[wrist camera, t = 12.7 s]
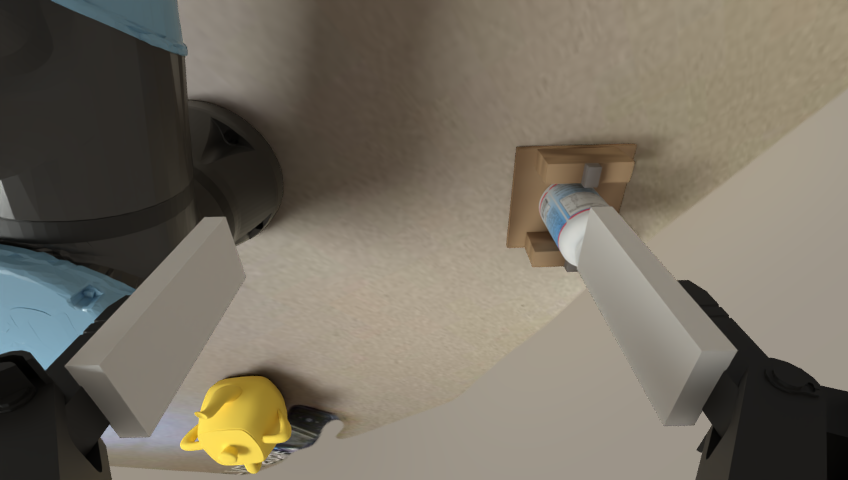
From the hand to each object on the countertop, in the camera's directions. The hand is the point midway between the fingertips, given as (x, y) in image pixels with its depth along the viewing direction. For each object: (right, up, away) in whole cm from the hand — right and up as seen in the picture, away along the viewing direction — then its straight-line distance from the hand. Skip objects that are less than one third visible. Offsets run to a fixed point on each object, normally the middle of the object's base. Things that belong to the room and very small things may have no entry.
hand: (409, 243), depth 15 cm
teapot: (-26, -23, +47) cm, 58 cm away
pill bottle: (+16, +4, +29) cm, 33 cm away
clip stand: (+16, +5, +29) cm, 33 cm away
